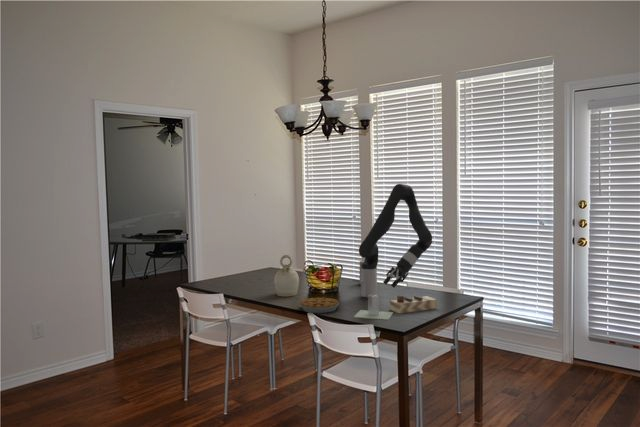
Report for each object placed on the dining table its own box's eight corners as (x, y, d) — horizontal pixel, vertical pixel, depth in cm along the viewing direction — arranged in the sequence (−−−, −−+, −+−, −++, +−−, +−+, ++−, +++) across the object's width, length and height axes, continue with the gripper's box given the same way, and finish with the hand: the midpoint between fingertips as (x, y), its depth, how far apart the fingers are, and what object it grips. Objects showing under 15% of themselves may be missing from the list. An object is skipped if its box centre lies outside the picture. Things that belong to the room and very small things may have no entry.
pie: (337, 303, 292) (337, 295, 292) (340, 313, 270) (340, 304, 270) (300, 304, 291) (299, 296, 291) (299, 314, 270) (299, 305, 269)
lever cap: (372, 315, 262) (371, 296, 262) (368, 313, 267) (368, 294, 266) (379, 314, 264) (378, 295, 263) (375, 312, 268) (374, 294, 267)
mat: (353, 317, 261) (353, 316, 261) (360, 310, 275) (360, 310, 275) (388, 319, 256) (388, 319, 256) (393, 312, 269) (393, 312, 269)
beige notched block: (398, 313, 268) (398, 298, 267) (390, 309, 276) (389, 295, 275) (436, 308, 277) (436, 293, 276) (427, 304, 285) (427, 290, 285)
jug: (295, 297, 308) (295, 257, 307) (271, 297, 311) (270, 256, 310) (301, 292, 323) (301, 253, 322) (278, 291, 326) (277, 253, 325)
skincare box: (362, 285, 340) (362, 262, 339) (359, 283, 347) (358, 260, 346) (374, 284, 343) (374, 261, 342) (370, 282, 349) (370, 259, 348)
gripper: (395, 255, 277) (377, 278, 273) (410, 259, 263) (390, 283, 260) (404, 264, 279) (386, 287, 275) (418, 268, 266) (399, 292, 262)
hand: (388, 285), depth 268 cm, fingers open, 8 cm apart
